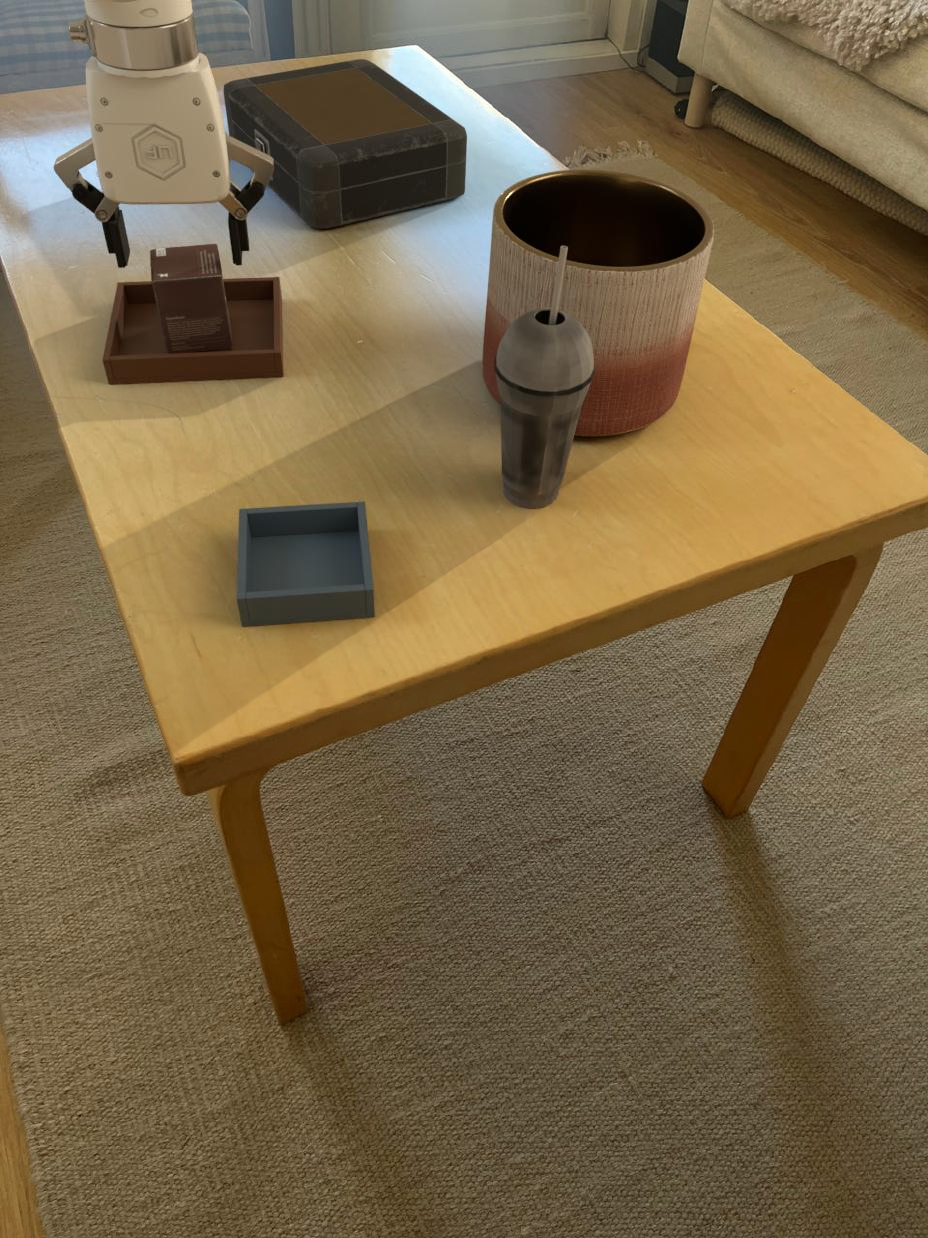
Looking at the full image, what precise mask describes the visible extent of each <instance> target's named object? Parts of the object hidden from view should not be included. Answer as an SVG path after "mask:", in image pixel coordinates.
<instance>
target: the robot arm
mask: <svg viewBox="0 0 928 1238" xmlns="http://www.w3.org/2000/svg"><path fill="white" fill-rule="evenodd" d="M83 2H84V7H85V12H86V15H84V18H83V19H78V20H79V21H69V22H68V32H69V37H70V40H71V43H78V44H79V43H82V45H83V46H88V49H89V50H91V52H92V56H91V57H90V58H89V59H88V60H87V61H86V63H85V88H86V89H85V91H86V99H87V110H88V118H89V126H90V127H89V128H90V133H91V137H90V138H89V139H87V140H85V141H83V142H81V143H79V144H78V145H77V146H75V147H73V148H72V149H70V150H68V151H67V152H65V153H63V154H61V155H60V156H58V157H56V159H55V161H54V165H53V171H54V173H55V174H56V175H57V177H58V178H59V179H60V180H61V182H62V183H63V185H64V186H65V187H66V188H67V189H68V190H69V191H70V192H71V195H72V197H73V198H74V199H75V201H77V202H78V203H80V204H81V205H82V206H83V207H85V208H86V209H87V210H89V211H90V212H91V213H93V214H94V217H95V219H96V220H97V221H99V222H101V225H102V231H103V234H104V235H103V236H104V239H105V244H106V248H107V252H108V254H110V255H111V254H112V255H115V259H116V264H117V268H119V269H125V268H126V267H128V265H129V260H130V254H131V248H130V242H129V237H128V233H127V228H126V223H125V218H124V213H123V210H122V209H120V205H121V204H122V205H137V206H138V205H139V206H140V205H144V206H145V205H201V204H202V205H207V204H214V203H219V204H220V205H222V206H223V208H225V210H226V211H227V212H228V214H227V215H228V216H227V217H228V218H227V225H228V231H229V232H228V233H229V242H230V249H231V258H232V264H233V265H235V266H243V252H250V239H249V238H250V237H249V229H248V221H247V218H248V215H249V213H250V212H251V211H252V210H253V209H254V207H256V205H257V204H258V203H259V202H260V201H261V200H262V199H263V198H264V196H265V192H266V189H267V188H268V183H269V181H270V178H271V176H272V174H273V171H274V159H273V158H272V157H271V156H269V155H267V154H265V153H263V152H261V151H259V150H257V149H255V148H253V147H251V146H249V145H247V144H245V143H243V142H241V141H239V140H237V139H235V138H233V137H231V136H229V134H227V132H226V125H225V121H224V115H223V110H222V106H221V101H220V97H219V93H218V88H217V85H216V81H215V77H214V74H213V71H212V68H211V65H210V62H209V60H208V57H207V56H206V55H205V54H204V53H202V52H199V46H198V40H197V31H196V23H195V17H194V11H193V4H192V0H83ZM231 161H234V162H236V163H239V164H241V165H243V166H244V167H247V168H248V169H251V170H252V171H253V174H252V177H251V179H250V180H249V181H248V182H247V183H246V184H245V185H244V186H243V188H240V187H239V186H238V185H237V184H236V183H235V182H234V181H233V180H232V179H231ZM94 162H95V164H96V170H97V175H98V180H99V185H100V187H101V188H100V189H101V191H100V189H98V188H97V187H96V186H94V185H93V184H92V183H91V182H89V181H88V180H87V179H85V178H84V176H83V175H82V173H81V172H80V170H82V169H83V168H84V167H86V166H88V165H90V164H91V163H94Z"/></svg>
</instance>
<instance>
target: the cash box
mask: <svg viewBox="0 0 928 1238" xmlns="http://www.w3.org/2000/svg"><path fill="white" fill-rule="evenodd" d="M223 98H224V106H225V115H226V121H227V129H228V135H229V136H231V137H233V138H235V139H237V140H239V141H241V142H243V143H245V144H247V145H249V146H251V147H253V148H255V149H257V150H259V151H261V152H263V153H265V154H267V155H269V156H271V157H272V158H273V159H274V171H273V174H272V176H271V178H270V181H269V183H268V185H267V187H269V188H270V189H271V190H272V191H273V192H274V193H275V194H277V196H279V198H281V200H283V202H285V203H286V205H288V206H289V208H290V209H292V210H293V211H294V212H295V214H297V215H298V216H299V217H300V218H301V219H302V220H303V221H304V222H305V224H307V225H308V226H310V227H313V228H315V229H317V230H326V229H327V230H328V229H332V228H335V227H336V228H337V227H340V226H345V225H348V224H353V223H358V222H361V221H365V220H369V219H374V218H379V217H382V216H387V215H391V214H395V213H396V214H397V213H399V212H405V211H409V210H412V209H413V210H414V209H418V208H421V207H426V206H429V205H433V204H437V203H442V202H446V201H450V200H454V199H457V198H460V197H461V196H463V195H464V194H465V192H466V176H467V175H466V173H467V172H466V171H467V148H468V146H467V145H468V134H467V130H466V128H465V127H464V126H463V125H462V124H460V123H459V122H457V121H456V120H455V119H453V118H452V117H451V116H450V115H448V114H446V113H445V112H443V111H442V110H441V109H439V108H437V106H435V105H434V104H432V103H430V101H428V100H427V99H425V98H423V97H422V96H421V95H419V94H418V93H417V92H415V91H414V90H412V89H411V88H410V87H408V86H407V85H405V84H404V83H402V82H401V81H400V80H398V79H397V78H395V77H394V76H393V75H391V74H390V73H388V72H387V71H385V70H384V69H383V68H381V67H380V66H378V65H377V64H376V63H374V62H372V61H371V60H368V59H366V58H359V59H352V60H345V61H339V62H333V63H327V64H322V65H317V66H309V67H304V68H299V69H292V70H286V71H281V72H280V71H279V72H275V73H269V74H263V75H256V76H250V77H245V78H240V79H233V80H230V81H228V82H226V83H225V84H224V85H223Z"/></svg>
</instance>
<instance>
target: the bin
mask: <svg viewBox="0 0 928 1238" xmlns="http://www.w3.org/2000/svg"><path fill="white" fill-rule="evenodd" d="M368 528H369V527H368V519H367V507H366V502H365V501H348V502H331V503H330V502H329V503H315V504H299V505H283V506H282V505H280V506H265V507H248V508H246V507H245V508H239V509H238V533H237V534H238V537H237V539H238V540H237V568H236V569H237V576H236V604H237V609H238V613H239V618H240V624H241V627H256V626H269V625H284V624H296V623H297V624H298V623H312V622H324V621H338V620H351V619H367V618H375V617H376V615H375V614H376V612H375V610H376V609H375V608H376V607H375V590H374V589H375V587H374V578H373V569H372V558H371V549H370V539H369V529H368Z"/></svg>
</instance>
